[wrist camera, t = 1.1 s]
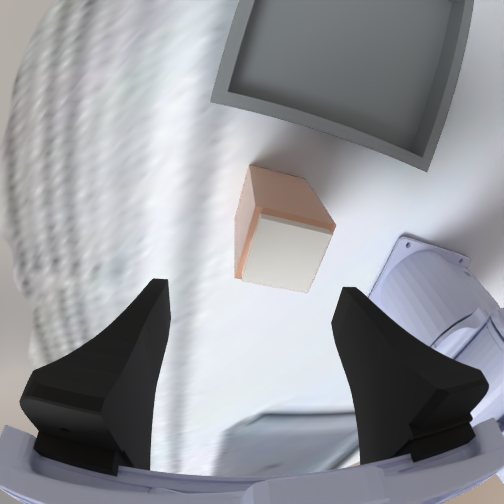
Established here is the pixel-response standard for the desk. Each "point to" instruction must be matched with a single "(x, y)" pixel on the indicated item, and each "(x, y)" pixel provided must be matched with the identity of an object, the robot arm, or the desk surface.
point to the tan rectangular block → (280, 231)
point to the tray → (349, 68)
